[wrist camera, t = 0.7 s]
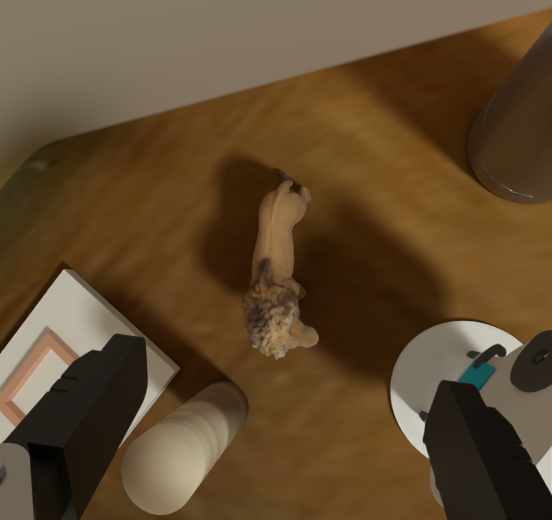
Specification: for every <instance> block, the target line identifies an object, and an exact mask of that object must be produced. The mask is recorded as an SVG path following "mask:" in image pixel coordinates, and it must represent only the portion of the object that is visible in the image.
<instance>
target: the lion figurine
mask: <svg viewBox="0 0 552 520" xmlns="http://www.w3.org/2000/svg"><path fill="white" fill-rule="evenodd" d="M279 176H280V181H281V182H282V183H281V184H280V185H279V187H278V188H277V190H274V191H271V192H269V193H268V194H267V195H266V196H265V197H264V199H263V201H262V203H261V205H260V208H259V231H258V236H257V241H256V246H255V250H254V255H253V262H252V280H251V282H250V284H249V287H248V289H247V290H246V292H245V294H244V296H243V303H242V307H243V308H244V317H245V322H244V324H245V326H247V331H248V333H250V335H249V338H250V340H251V341H252V346H253V347H256V348H258V349H259V350H260V351H261V352H262V353H263V354H265V355H266V356H269V355H273V357H274V358H275V359H276V360H277V359H278V357H279V358H280V357H283V356H285V353H286V352H287V350H288V349H293V348H295V347H296V346H302V347H306V348H307V347H311V346H313V345H315V344H316V343H317V341H318V339H319V337H318V334H317V333H316V330H315V329H314V328H313V327H310V326H306V325H304V324H303V323H302V322H301V321H300V319H299V318H300V310H299V308H298V300H300V299H302V298H304V296H305V294H306V291H305V289H304V288H303V287H302V286H301V284H299V283H297V282H296V281H295V280H294V278H293V277H292V273H293V268H294V244H293V237H292V228H293V226H294V225H295V224H296V223H297V222H299V221H300V220H301V219H302V217H303V216H304V214H305V212H306V208H307V204H309V203H310V202H311V199H312V198H311V194H310V192H309V190H308V189H307V188H306V187H300V189H299V191H298V194H297V193H295V192H290V190H289V188H290V187H291V186H292V184H293V182H292V181H291V180H288V176H286V174H285V172H283V171H279Z"/></svg>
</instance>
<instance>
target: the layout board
mask: <svg viewBox="0 0 552 520" xmlns="http://www.w3.org/2000/svg"><path fill="white" fill-rule="evenodd" d="M114 334H124V335H131V336H139V337H144V339H145V341H146V353H147V370H148V387H147V392H146V396H145V399H144V401H143V403H142V405H141V407H140V409H139V411H138V413H137V415H136V417H135V418H134V420H133V422H132V424H131V426H130V428H129V429H128V431H127V433H126V435H125V437H124V439H123V440H122V442H121V444H120V446H121V445H122V443H123V442H124V441H125V439H126V438H127V437H128V436H129V434H130V433H131V432H132V430H133V429H134V428H135V427H136V425H137V424H138V423H139V422H140V420H141V419H142V418H143V416H144V415H145V414H146V413H147V411H148V410H149V409H150V407H151V406H152V405H153V404H154V402H155V401H156V400H157V398H158V397H159V396H160V395H161V393H162V392H163V391H164V389H165V388H166V387H167V386H168V384H169V383H170V382H171V381H172V379H173V378H174V377H175V375H176V374H177V373H178V372H179V370H180V369H181V368H180V367H179V366H178V365H177V364H176V363H175V362H173V361H172V360H171V359H170V358H169V357H168V356H167V355H166V354H165V353H164V352H162V351H161V350H160V349H159V348H158V347H157V346H156V345H155V344H154V343H153V342H151V341H150V340H149V339H148V338H147V337H146V336H145V335H144V334H143V333H142V332H141V331H139V330H138V329H137V328H136V327H135V326H134V325H133V324H132V323H131V322H130V321H128V320H127V319H126V318H125V317H124V316H123V315H122V314H121V313H120V312H119V311H117V310H116V309H115V308H114V307H113V306H112V305H111V304H110V303H109V302H108V301H107V300H105V299H104V298H103V297H102V296H101V295H100V294H99V293H98V292H97V291H96V290H94V289H93V288H92V287H91V286H90V285H89V284H88V283H87V282H86V281H85V280H83V279H82V278H81V277H80V276H79V275H78V274H77V273H76V272H75V271H74V270H69V269H63V271H62V272H61V273H60V275H59V276H58V277H57V279H56V280H55V282H54V283H53V284H52V286H51V287H50V288H49V290H48V291H47V292H46V294H45V295H44V296H43V298H42V299H41V300H40V302H39V303H38V304H37V306H36V307H35V308H34V310H33V311H32V312H31V314H30V315H29V316H28V318H27V319H26V320H25V322H24V323H23V324H22V326H21V327H20V328H19V330H18V331H17V332H16V334H15V335H14V336H13V338H12V339H11V340H10V342H9V343H8V344H7V346H6V347H5V348H4V350H3V351H2V352H1V354H0V443H2V442H3V441H4V440H5V439H6V438H7V437H8V436H9V435H10V433H11V432H12V431H13V430H14V429H15V428H16V427H17V425H18V424H19V423H20V422H21V421H22V420H23V419H24V417H25V416H26V415H27V414H28V413H29V412H30V410H31V409H32V408H33V407H34V406H35V405H36V404H37V402H38V401H39V400H40V399H41V398H42V397H43V396H44V394H45V393H46V392H47V391H48V392H49V391H50V388H51V386H52V385H53V384H54V383H55V382H56V381H57V380H58V379H60V378H61V375H62V374H63V373H64V371H65V370H66V369H67V368H68V367H69V366H70V365H71V363H72V362H73V361H74V360H76V359H78V358H79V357H81V356H82V355H84V354H86V353H87V352H89V351H91V350H99V351H101V350H102V348H103V347H104V346H105V345H106V343H107V342H108V341H109V340H110V338H111V337H112V336H113V335H114ZM120 446H119V447H120Z"/></svg>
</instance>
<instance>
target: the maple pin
mask: <svg viewBox="0 0 552 520" xmlns="http://www.w3.org/2000/svg"><path fill="white" fill-rule="evenodd" d="M248 410H249V406H248V401H247V398H246V395H245V394H244V392H243V391H242V390H241V389H240V388H239V387H238V386H237V385H235V384H234V383H231V382H228V381H217V382H214V383H212V384H210V385H209V386H208V387H206V388H205V389H204V390H202V391H201V392H199V393H198V394H197V395H195V396H194V397H193V398H191V399H190V400H189V401H187V402H186V403H184V404H183V405H182V406H180V407H179V408H178V409H176V410H175V411H174V412H172V413H171V414H170V415H168V416H167V417H165V418H164V419H163V420H161V421H160V422H159V423H157V424H156V425H155V426H153V427H152V428H150V429H149V430H148V431H146V432H145V433H144V434H142V435H141V436H140V437H138V438H137V439H136V440H135V441H133V442H132V443H131V445H130V446H129V447H128V449H127V451H126V453H125V455H124V458H123V461H122V468H121V475H122V481H123V485H124V488H125V490H126V492H127V494H128V496H129V497H130V499H131V500H132V501H133V502H134V503H135V504H136V505H137V506H138V507H139V508H141V509H142V510H144V511H146V512H148V513H151V514H156V515H165V514H170V513H173V512H175V511H177V510H178V509H180V508H181V507H182V506H184V505H185V504H186V502H187V501H188V500H189V498H190V497H191V496H192V494H193V493H194V492H195V490H196V489H197V487H198V486H199V485H200V483H201V482H202V481H203V479H204V478H205V476H206V475H207V474H208V472H209V471H210V470H211V468H212V467H213V465H214V464H215V463H216V461H217V460H218V458H219V457H220V456H221V454H222V453H223V452H224V450H225V449H226V447H227V446H228V445H229V443H230V442H231V441H232V439H233V438H234V436H235V435H236V434H237V432H238V431H239V430H240V428H241V427H242V425H243V424H244V423H245V421H246V419H247V416H248Z"/></svg>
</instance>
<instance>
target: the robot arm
mask: <svg viewBox="0 0 552 520" xmlns="http://www.w3.org/2000/svg"><path fill="white" fill-rule="evenodd" d="M467 155H468V160H469V164H470V166H471V168H472V171H473V173H474V175H475V176H476V177H477V179H478V180H479V181H480V183H481V184H482V185H483V186H484V187H486V188H487V189H488V190H489V191H490V192H492V193H493V194H495V195H497V196H499V197H501V198H503V199H506V200H509V201H512V202H516V203H525V204H534V203H544V202H548V201H551V200H552V21H551V22H550V24H549V25H548V26H547V28H546V29H545V30H544V31H543V33H542V34H541V35H540V36H539V38H538V39H537V40H536V42H535V43H534V44H533V45H532V47H531V48H530V49H529V50H528V52H527V53H526V54H525V56H524V57H523V58H522V59H521V61H520V62H519V63H518V64H517V66H516V67H515V68H514V70H513V71H512V72H511V73H510V75H509V76H508V77H507V79H506V80H505V81H504V82H503V84H502V85H501V86H500V87H499V88H498V90H497V91H496V92H495V94H494V95H493V96H492V97H491V99H490V100H489V101H488V103H487V104H486V105H485V106H484V108H483V109H482V110H481V112H480V113H479V114H478V116H477V117H476V118H475V120H474V122H473V124H472V126H471V128H470V131H469V135H468V139H467ZM147 387H148V370H147V353H146V341H145V339H144V337H139V336H131V335H124V334H114V335H113V336H112V337H111V338H110V340H109V341H108V342H107V343H106V345H105V346H104V347H103V348H102V350H101V351H99V350H91V351H89V352H87V353H86V354H84V355H82V356H81V357H79V358H78V359H76V360H74V361H73V362H72V363H71V365H70V366H69V367H68V368H67V369H66V370H65V371H64V373H63V374H62V375H61V378H60V379H58V380H57V381H56V382H55V383H54V384H53V385H52V386H51V388H50V391H49V392H48V391H47V392H46V393H45V394H44V396H43V397H42V398H41V399H40V400H39V401H38V402H37V404H36V405H35V406H34V407H33V408H32V409H31V410H30V412H29V413H28V414H27V415H26V416H25V417H24V419H23V420H22V421H21V422H20V423H19V424H18V425H17V427H16V428H15V429H14V430H13V431H12V432H11V433H10V435H9V436H8V437H7V438H6V439H5V440H4V441H3V442H2V443H0V520H80V518H81V516H82V514H83V512H84V511H85V509H86V507H87V505H88V503H89V501H90V500H91V498H92V496H93V494H94V492H95V490H96V488H97V487H98V485H99V483H100V481H101V479H102V477H103V476H104V474H105V472H106V470H107V468H108V466H109V464H110V463H111V461H112V459H113V457H114V455H115V453H116V452H117V450H118V448H119V446H120V444H121V442H122V440H123V439H124V437H125V435H126V433H127V431H128V429H129V428H130V426H131V424H132V422H133V420H134V418H135V417H136V415H137V413H138V411H139V409H140V407H141V405H142V403H143V401H144V399H145V396H146V392H147ZM424 439H425V445H426V449H427V453H428V456H429V459H430V463H431V466H432V469H433V473H434V476H435V479H436V483H437V486H438V489H439V493H440V496H441V499H442V503H443V506H444V509H445V513H446V516H447V519H448V520H552V494H551V492H550V490H549V489H548V487H547V485H546V483H545V481H544V480H543V478H542V476H541V474H540V473H539V471H538V469H537V467H536V466H535V464H532V459H531V457H530V455H529V453H528V452H527V450H526V448H523V443H522V441H521V439H520V438H519V436H518V434H517V432H516V431H515V429H514V427H513V425H512V424H511V423H510V422H509V421H508V420H507V419H506V418H505V417H504V416H503V415H502V414H501V413H500V412H499V411H498V410H497V409H496V408H495V407H488V406H486V404H485V402H484V401H483V399H482V397H481V395H480V393H479V391H478V389H477V387H476V386H475V385H474V384H470V383H463V382H456V381H449V380H442V381H441V382H440V383H439V385H438V388H437V391H436V394H435V396H434V399H433V402H432V405H431V408H430V411H429V413H428V416H427V419H426V422H425V428H424Z"/></svg>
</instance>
